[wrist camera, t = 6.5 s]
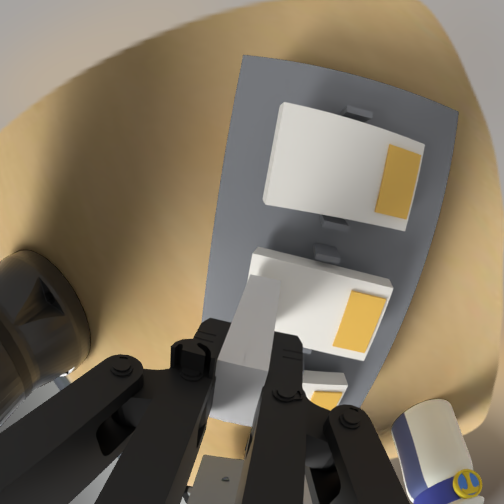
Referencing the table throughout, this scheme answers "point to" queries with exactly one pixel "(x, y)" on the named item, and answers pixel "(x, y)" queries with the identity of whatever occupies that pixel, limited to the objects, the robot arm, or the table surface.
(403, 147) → the rocker
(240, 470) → the circuit breaker
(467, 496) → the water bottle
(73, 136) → the table surface
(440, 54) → the table surface
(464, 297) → the table surface
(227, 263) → the panel
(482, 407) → the table surface
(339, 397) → the rocker
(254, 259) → the block
